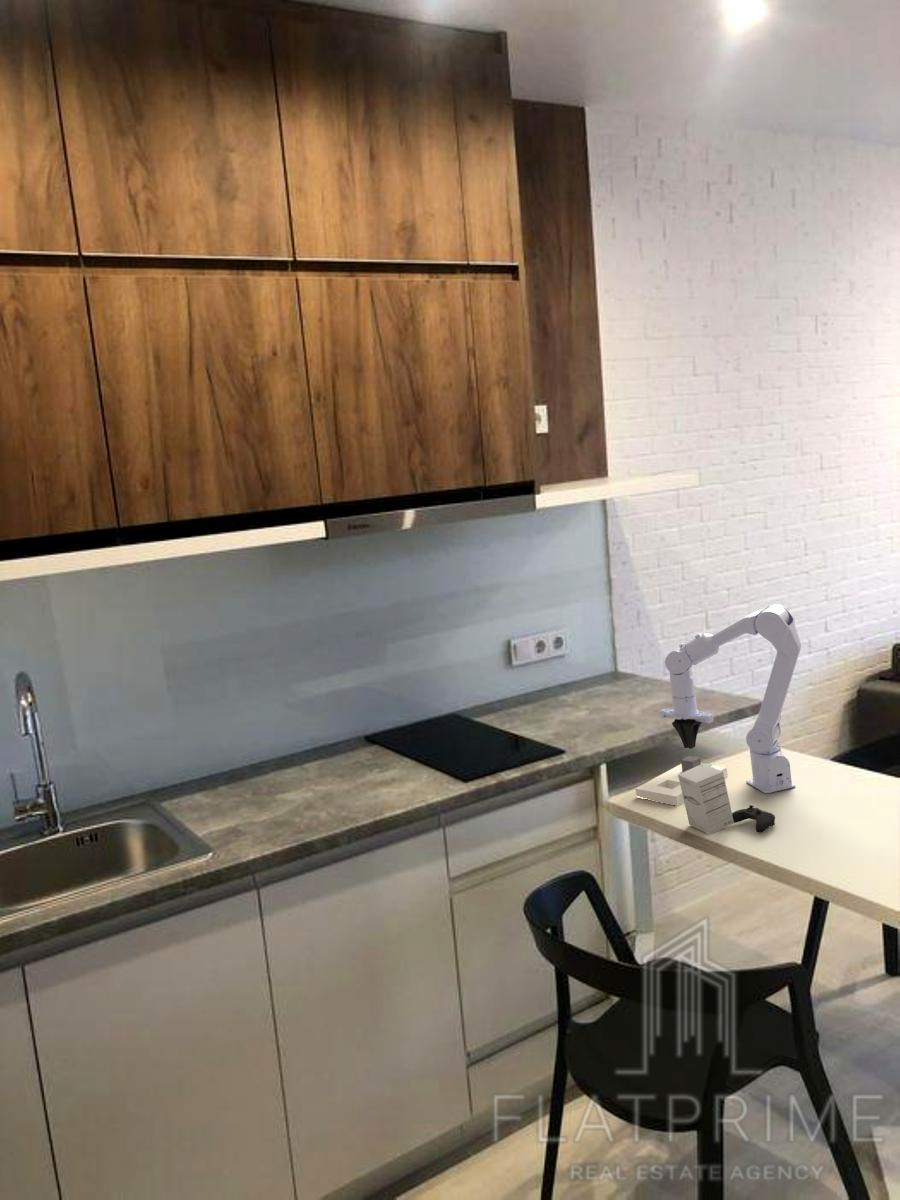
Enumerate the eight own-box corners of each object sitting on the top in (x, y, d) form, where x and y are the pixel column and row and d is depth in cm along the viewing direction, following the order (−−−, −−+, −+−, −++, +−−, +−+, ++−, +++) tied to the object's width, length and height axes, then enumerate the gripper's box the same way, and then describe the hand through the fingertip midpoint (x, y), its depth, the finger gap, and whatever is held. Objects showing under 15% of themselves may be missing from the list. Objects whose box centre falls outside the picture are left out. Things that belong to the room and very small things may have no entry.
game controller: (725, 818, 206) (739, 796, 207) (739, 831, 208) (753, 808, 210) (757, 831, 198) (771, 807, 199) (771, 844, 200) (785, 820, 201)
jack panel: (677, 806, 221) (676, 795, 221) (636, 798, 230) (635, 787, 230) (727, 776, 235) (726, 766, 235) (687, 770, 244) (686, 760, 244)
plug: (695, 784, 233) (692, 761, 233) (683, 782, 236) (680, 760, 235) (704, 779, 236) (701, 756, 235) (692, 777, 239) (689, 755, 238)
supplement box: (688, 825, 209) (676, 774, 207) (715, 813, 212) (703, 762, 209) (707, 835, 202) (695, 782, 200) (735, 823, 205) (723, 770, 202)
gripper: (650, 697, 236) (656, 748, 238) (699, 702, 225) (705, 755, 227) (666, 690, 240) (672, 740, 242) (715, 694, 230) (721, 747, 231)
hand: (689, 747), depth 235 cm, fingers closed
